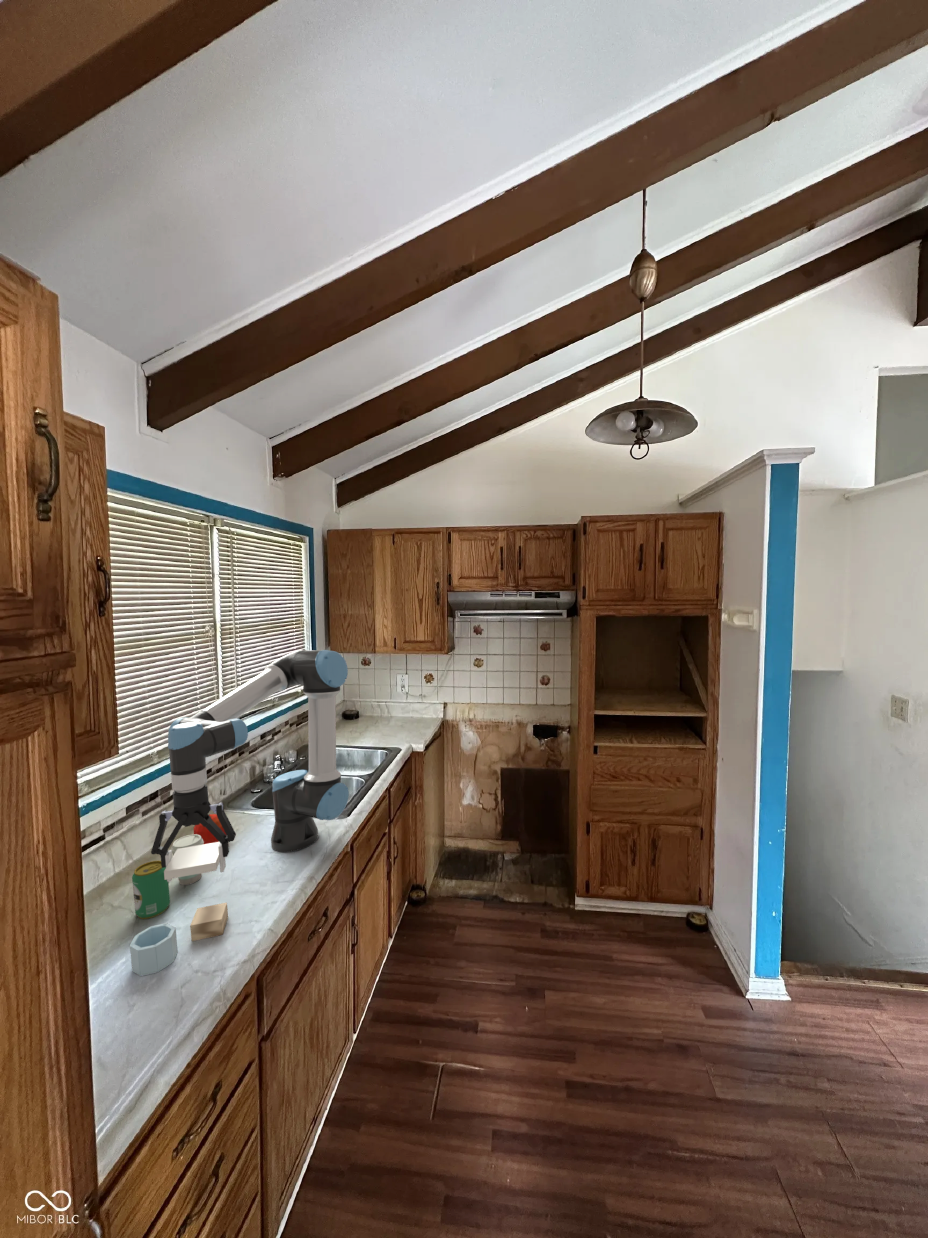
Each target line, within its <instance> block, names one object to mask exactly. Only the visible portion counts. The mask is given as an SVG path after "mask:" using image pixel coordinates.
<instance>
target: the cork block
mask: <svg viewBox="0 0 928 1238" xmlns="http://www.w3.org/2000/svg"><path fill="white" fill-rule="evenodd" d="M228 909H229V908H228V902H221V903H218V904H213V905H207V906H203V907H198V908H196V910H195V913H194V916H193V918H192V921H191V923H190V926H189V927H190V929H189V930H190V937H191V942H195V941H200V940H204V939H209V938H214V937H218V936H223V935H224V932H225V929H226V926H227V923H228V918H229V910H228Z"/></svg>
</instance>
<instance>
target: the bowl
mask: <svg viewBox="0 0 928 1238" xmlns="http://www.w3.org/2000/svg"><path fill="white" fill-rule="evenodd" d="M176 930H177V928H176V926H174V925H172V924H170V923H168V922H165V923H161V924H155V925H151V926H149V927H147V928H146V929H144V930H142V931H140V932H139V933H137V934H135V935H134V937H133V939H132V941H131V942H130V945H129V953H130V963H131V971H132V972H133V973H135V974H136V975H138V976H140V977H142V976H143V977H144V976H147V975H152V974H155V973H156V974H157V973H159V972H160V971H162V970H164V969H165V968H167V967H168V966H169V965H171V964H172V963H174V961H175V959H176V957H177V954H178V952H179V949H178V940H177V931H176Z"/></svg>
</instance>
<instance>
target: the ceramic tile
mask: <svg viewBox="0 0 928 1238" xmlns="http://www.w3.org/2000/svg"><path fill="white" fill-rule="evenodd" d="M219 844H220V842H215V843H209V844H203V845H197V846H191V847H185V848H179V849H177V850H176V852H175V854H174V855H173V854H172V859H171V860H170V862H169V864H168V866H167V867H166V869H165V871H164V878H165V880H167V879H172V880H173V879H178V877H183V876H189V875H194V874H200V873H202V874H205V873H210V872H211V873H212V872H215V871H217V869H218V868H219V866H220V859H219V849H218V846H219Z"/></svg>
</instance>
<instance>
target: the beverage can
mask: <svg viewBox="0 0 928 1238" xmlns="http://www.w3.org/2000/svg"><path fill="white" fill-rule="evenodd" d="M165 869H166V867H165V868H162V866H161V860H160V859H159V860H152V861H149V862H146V863H143V864H140V865H139V866H137V867H136V868H135V869H134V872H133V874H132V876H131V881H132V890H133V891H132V892H133V901H134V902H133V903H134V912H135V915H136V916H137V917H138V918H139V919H141V920H147V919H152V918H156V917H158V916H160V915H162V914H163V913H165V911H166V910H168V908H169V906H170V903H171V895H170V888H169V887H170V885H169V882H167V880H165V878H164V871H165Z"/></svg>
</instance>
